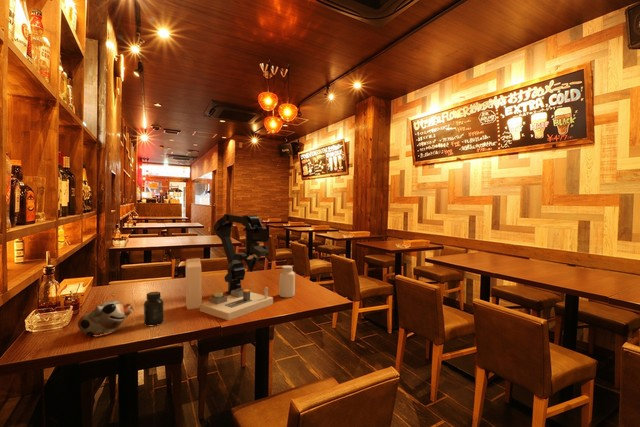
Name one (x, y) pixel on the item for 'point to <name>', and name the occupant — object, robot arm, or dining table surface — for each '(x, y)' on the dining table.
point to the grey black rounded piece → (104, 318)
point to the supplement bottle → (153, 309)
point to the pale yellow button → (218, 294)
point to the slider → (246, 295)
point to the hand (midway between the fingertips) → (251, 271)
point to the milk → (193, 283)
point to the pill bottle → (287, 282)
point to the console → (235, 304)
